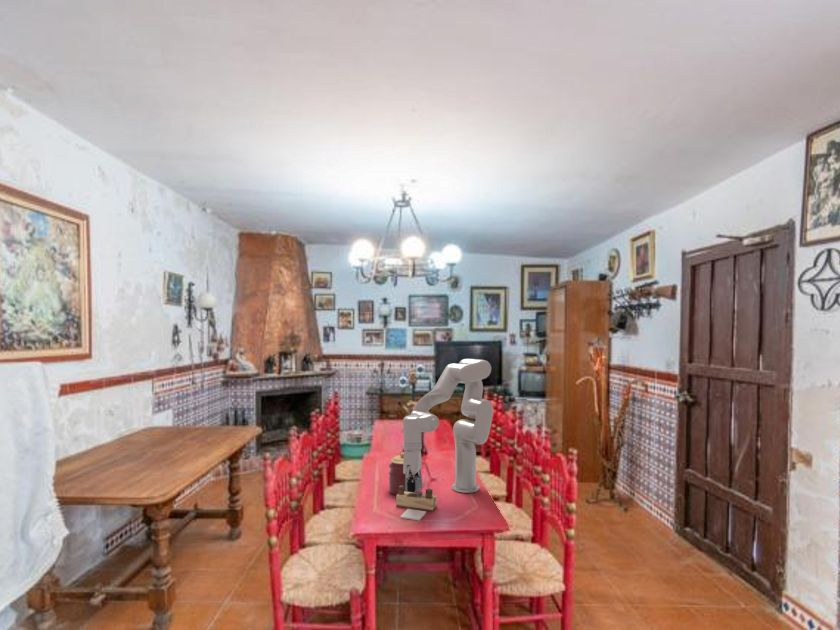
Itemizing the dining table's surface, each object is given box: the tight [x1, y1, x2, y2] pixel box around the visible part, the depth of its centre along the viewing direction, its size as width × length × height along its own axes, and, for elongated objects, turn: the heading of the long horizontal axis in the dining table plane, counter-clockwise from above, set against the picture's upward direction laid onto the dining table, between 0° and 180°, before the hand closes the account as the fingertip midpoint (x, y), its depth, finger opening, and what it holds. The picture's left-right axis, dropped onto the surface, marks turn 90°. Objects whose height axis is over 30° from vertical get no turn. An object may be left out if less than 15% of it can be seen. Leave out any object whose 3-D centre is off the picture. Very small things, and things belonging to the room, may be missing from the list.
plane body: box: [395, 485, 438, 512], centre depth 195 cm, size 6×16×8 cm, turn 70°
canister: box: [388, 451, 417, 496], centre depth 213 cm, size 13×13×18 cm
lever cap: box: [405, 475, 423, 493], centre depth 196 cm, size 5×6×6 cm
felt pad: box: [399, 508, 427, 522], centre depth 186 cm, size 8×8×1 cm
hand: (413, 488), depth 196 cm, fingers closed on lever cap, 5 cm apart
